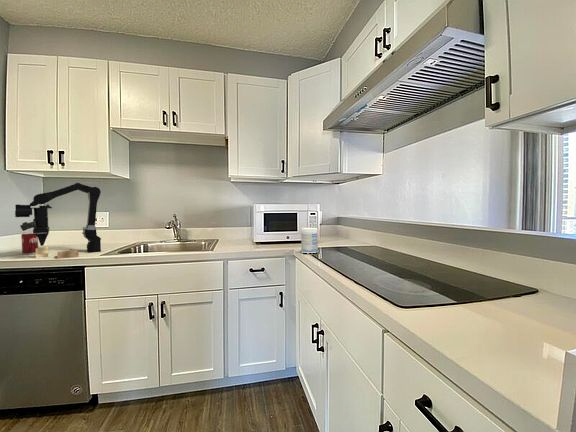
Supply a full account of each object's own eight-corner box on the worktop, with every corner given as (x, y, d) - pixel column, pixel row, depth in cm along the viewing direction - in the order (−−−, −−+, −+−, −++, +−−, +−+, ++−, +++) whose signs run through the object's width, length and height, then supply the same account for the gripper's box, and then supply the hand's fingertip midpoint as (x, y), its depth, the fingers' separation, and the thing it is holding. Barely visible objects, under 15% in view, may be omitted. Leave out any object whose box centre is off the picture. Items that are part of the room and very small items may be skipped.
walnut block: (77, 255, 161) (77, 250, 161) (78, 257, 154) (78, 252, 154) (57, 257, 155) (57, 251, 155) (57, 259, 148) (57, 254, 148)
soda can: (19, 254, 161) (18, 234, 161) (27, 252, 168) (26, 232, 168) (34, 253, 163) (33, 233, 163) (41, 251, 170) (40, 232, 170)
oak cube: (48, 255, 158) (48, 247, 158) (48, 257, 154) (47, 248, 154) (36, 256, 155) (36, 247, 154) (36, 258, 151) (35, 249, 151)
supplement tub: (315, 255, 156) (315, 229, 156) (299, 254, 159) (299, 228, 158) (319, 252, 165) (319, 227, 165) (303, 251, 168) (303, 227, 168)
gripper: (22, 216, 155) (23, 244, 156) (19, 217, 141) (20, 248, 142) (48, 216, 163) (49, 242, 163) (48, 217, 148) (49, 246, 149)
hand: (42, 244), depth 154 cm, fingers open, 9 cm apart
